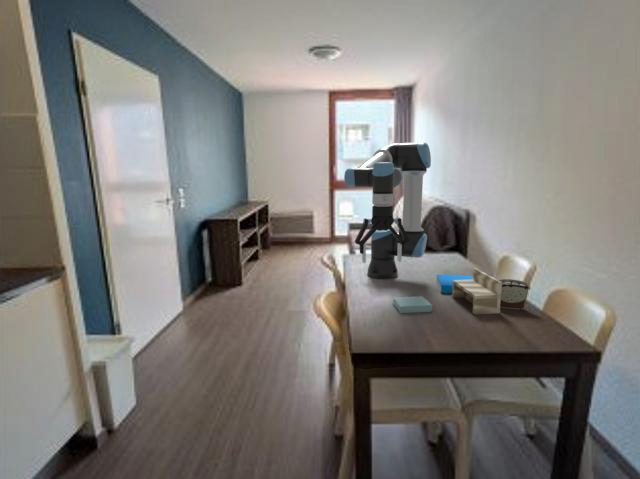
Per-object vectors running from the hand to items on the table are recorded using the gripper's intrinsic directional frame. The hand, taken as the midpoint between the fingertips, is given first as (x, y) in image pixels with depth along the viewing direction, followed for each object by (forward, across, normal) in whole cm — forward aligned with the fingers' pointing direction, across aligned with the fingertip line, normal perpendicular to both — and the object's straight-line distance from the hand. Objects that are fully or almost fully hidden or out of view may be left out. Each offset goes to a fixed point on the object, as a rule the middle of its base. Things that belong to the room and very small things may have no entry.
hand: (381, 261), depth 144 cm
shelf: (+19, +37, 0) cm, 42 cm away
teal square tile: (+19, +12, 0) cm, 23 cm away
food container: (+19, +50, -3) cm, 54 cm away
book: (+20, +44, +19) cm, 52 cm away
